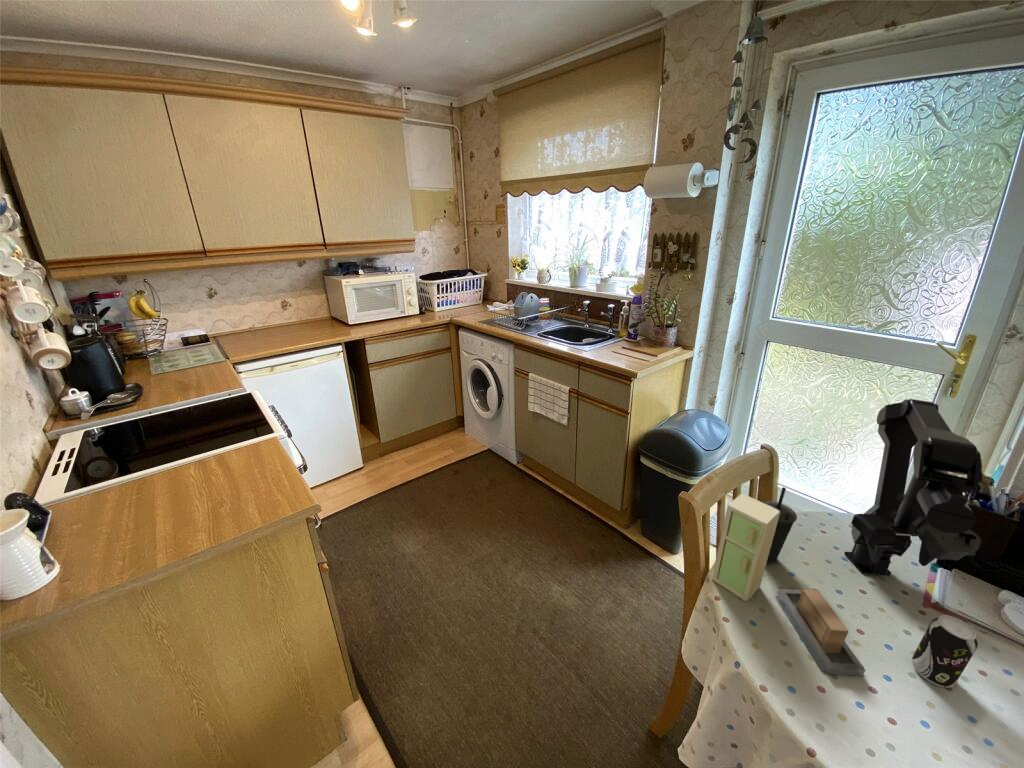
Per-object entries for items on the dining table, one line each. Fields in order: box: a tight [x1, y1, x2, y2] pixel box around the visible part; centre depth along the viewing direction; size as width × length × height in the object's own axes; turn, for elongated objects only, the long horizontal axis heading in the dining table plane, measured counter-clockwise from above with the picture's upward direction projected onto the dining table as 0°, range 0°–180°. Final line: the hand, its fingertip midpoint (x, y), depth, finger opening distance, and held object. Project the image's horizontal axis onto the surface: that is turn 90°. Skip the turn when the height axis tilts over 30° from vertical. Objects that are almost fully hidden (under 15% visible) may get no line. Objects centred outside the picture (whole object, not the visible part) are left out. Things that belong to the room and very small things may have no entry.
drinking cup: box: [761, 486, 798, 565], centre depth 96 cm, size 8×8×20 cm
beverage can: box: [911, 614, 979, 689], centre depth 72 cm, size 6×6×12 cm
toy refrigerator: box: [711, 493, 780, 602], centre depth 89 cm, size 8×7×21 cm
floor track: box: [775, 588, 866, 677], centre depth 81 cm, size 17×7×2 cm, turn 176°
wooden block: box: [796, 588, 849, 653], centre depth 80 cm, size 9×3×6 cm, turn 176°
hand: (897, 563), depth 82 cm, fingers open, 9 cm apart
